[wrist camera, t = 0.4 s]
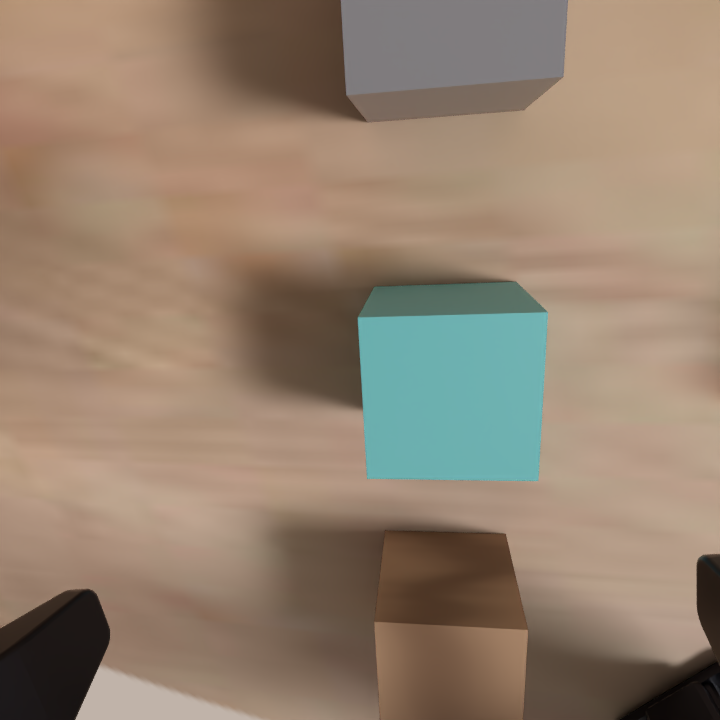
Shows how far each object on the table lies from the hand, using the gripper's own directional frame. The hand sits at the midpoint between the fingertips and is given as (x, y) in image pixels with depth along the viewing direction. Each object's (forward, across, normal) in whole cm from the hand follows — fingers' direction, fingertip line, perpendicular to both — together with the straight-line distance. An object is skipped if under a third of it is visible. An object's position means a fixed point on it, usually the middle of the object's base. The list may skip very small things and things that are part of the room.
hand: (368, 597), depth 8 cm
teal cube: (+12, -1, 0) cm, 13 cm away
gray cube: (+12, -3, -10) cm, 16 cm away
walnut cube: (+13, 0, +10) cm, 16 cm away
